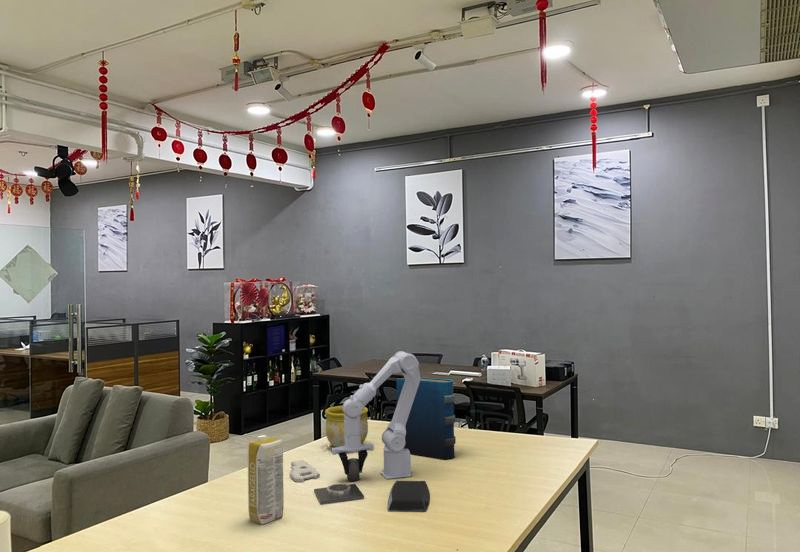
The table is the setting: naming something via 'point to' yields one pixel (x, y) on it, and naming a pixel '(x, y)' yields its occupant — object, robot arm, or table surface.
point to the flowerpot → (342, 426)
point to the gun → (302, 471)
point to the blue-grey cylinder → (353, 469)
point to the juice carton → (265, 479)
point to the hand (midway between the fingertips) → (353, 472)
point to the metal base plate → (338, 493)
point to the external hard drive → (408, 497)
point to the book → (431, 419)
